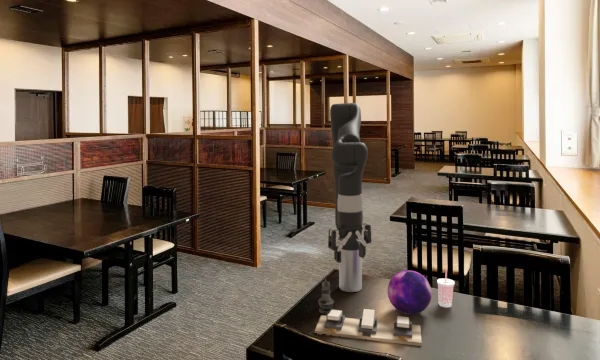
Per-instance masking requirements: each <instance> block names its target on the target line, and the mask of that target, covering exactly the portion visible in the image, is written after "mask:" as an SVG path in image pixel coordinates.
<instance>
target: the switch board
mask: <svg viewBox="0 0 600 360" xmlns="http://www.w3.org/2000/svg"><path fill="white" fill-rule="evenodd" d="M328 314H329V313H327V314H325V315H324V314H323V315H322V314H321V315H320V317H319V319H318V322H317V323H316V326H315V329H314V334H315V333H317V334H316V335H322V334H326V335H325V336H330V335H332V336H331V337H339V336H340V338H349V339H350V338H351V339H358V340H359V339H360V340H365V339H367V340H366V341H375V342H383V343H391V344H401V345H408V346H409V345H410V346H416V347H417V346H419V347H422V345H423V344H422V343H423V342H422V331H421V325H420V324H413V321H409V328H405V327H397V319H394V321H393V322H392V321H391V322H390V321H381V320H379V319H378V318H376V317H374V324H373V329H367V328H361V324H362V318H363V316H360V317H359V318H352V317H346V315H345V314H342V315H341V317H340V319H339V320H329V319H327V316H328Z"/></svg>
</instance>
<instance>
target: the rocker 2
mask: <svg viewBox="0 0 600 360" xmlns="http://www.w3.org/2000/svg"><path fill="white" fill-rule="evenodd" d="M375 311H376V310H375V309H367V308H363V312H362V317H363V318H362V324H361V328H367V329H373V324H374V318H375V314H376V313H375Z"/></svg>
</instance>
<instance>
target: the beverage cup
mask: <svg viewBox="0 0 600 360" xmlns="http://www.w3.org/2000/svg"><path fill="white" fill-rule="evenodd" d="M444 273H445V275H444V276H445V278H438V279H437V280H436V282H437V294H438V295H437V299H438V300H437V301H438V305H439V307H442V308H451V307H452V306H453V296H454V295H453V294H454V287H455V285H456V283H455V280H453V279H450V278H448V268H447V267H446V268H445V272H444Z"/></svg>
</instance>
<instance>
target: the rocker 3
mask: <svg viewBox="0 0 600 360" xmlns="http://www.w3.org/2000/svg"><path fill="white" fill-rule="evenodd" d="M396 320H397V327H405V328H409V322H410V318H409V317H408V316H400V315H398V316H397V318H396Z"/></svg>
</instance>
